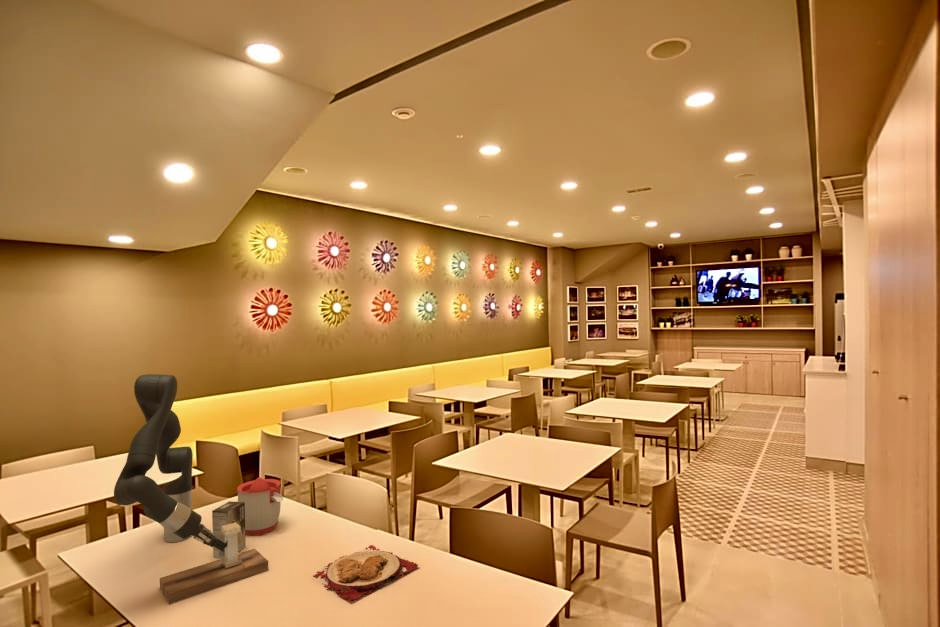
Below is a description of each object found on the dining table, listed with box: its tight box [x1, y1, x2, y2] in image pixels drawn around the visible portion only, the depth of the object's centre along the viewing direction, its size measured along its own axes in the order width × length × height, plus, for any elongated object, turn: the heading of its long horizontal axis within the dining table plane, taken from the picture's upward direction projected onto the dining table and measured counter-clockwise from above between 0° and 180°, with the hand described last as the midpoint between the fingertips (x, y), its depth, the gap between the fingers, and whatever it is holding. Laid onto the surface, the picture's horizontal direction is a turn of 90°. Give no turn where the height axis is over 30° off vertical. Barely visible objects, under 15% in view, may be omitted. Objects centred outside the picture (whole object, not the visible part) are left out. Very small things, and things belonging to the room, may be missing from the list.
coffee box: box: [211, 500, 247, 559], centre depth 176 cm, size 9×6×16 cm
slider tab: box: [220, 522, 242, 568], centre depth 161 cm, size 5×5×12 cm
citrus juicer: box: [236, 477, 284, 536], centre depth 194 cm, size 16×17×20 cm
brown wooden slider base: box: [159, 548, 269, 605], centre depth 158 cm, size 12×28×3 cm, turn 132°
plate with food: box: [312, 544, 419, 602], centre depth 161 cm, size 25×26×4 cm
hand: (224, 547), depth 160 cm, fingers closed
